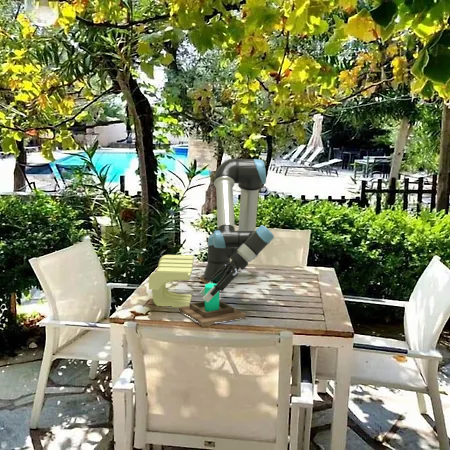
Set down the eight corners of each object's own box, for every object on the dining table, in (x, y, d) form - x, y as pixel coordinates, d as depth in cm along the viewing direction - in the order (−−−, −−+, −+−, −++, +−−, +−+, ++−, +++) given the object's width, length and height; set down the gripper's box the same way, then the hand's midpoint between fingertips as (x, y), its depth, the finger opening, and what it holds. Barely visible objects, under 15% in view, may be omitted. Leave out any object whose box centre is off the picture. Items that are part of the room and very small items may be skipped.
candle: (204, 307, 214) (204, 279, 212) (218, 307, 214) (219, 279, 212) (204, 312, 208) (205, 284, 206) (219, 312, 208) (220, 283, 206)
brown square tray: (178, 311, 214) (178, 302, 214) (219, 304, 225) (219, 295, 224) (202, 327, 198) (203, 317, 197) (245, 318, 209) (245, 308, 208)
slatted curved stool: (159, 291, 242) (159, 254, 238) (193, 292, 241) (193, 255, 238) (148, 313, 212) (148, 271, 209) (187, 314, 212) (187, 272, 209)
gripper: (255, 268, 203) (215, 311, 201) (242, 257, 221) (204, 296, 219) (243, 256, 200) (201, 299, 199) (230, 245, 218) (192, 284, 217)
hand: (203, 297), depth 209 cm, fingers open, 6 cm apart
